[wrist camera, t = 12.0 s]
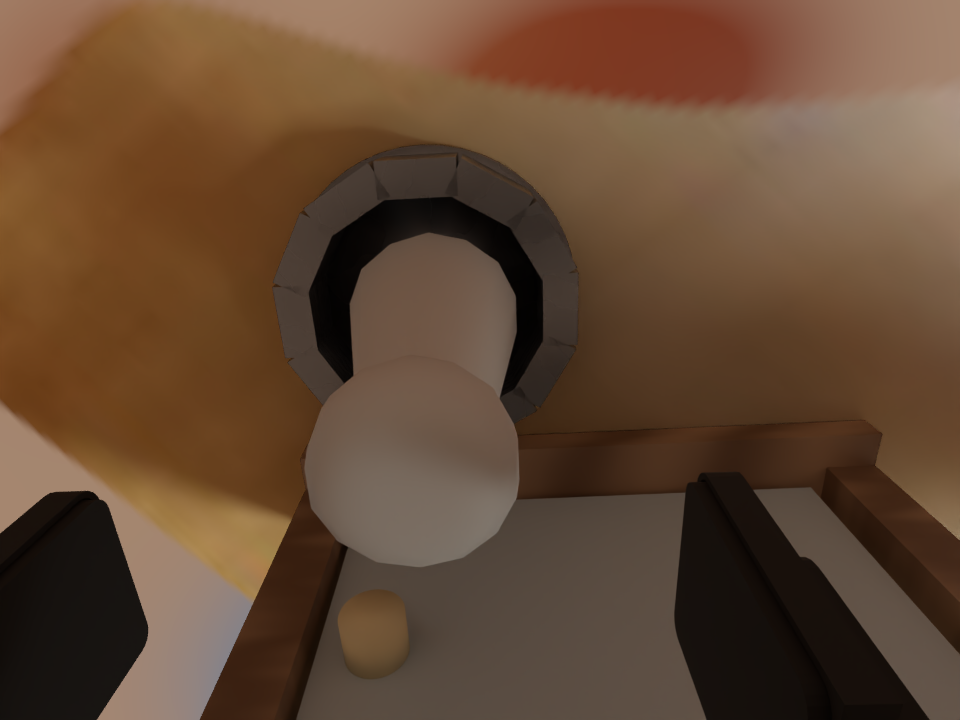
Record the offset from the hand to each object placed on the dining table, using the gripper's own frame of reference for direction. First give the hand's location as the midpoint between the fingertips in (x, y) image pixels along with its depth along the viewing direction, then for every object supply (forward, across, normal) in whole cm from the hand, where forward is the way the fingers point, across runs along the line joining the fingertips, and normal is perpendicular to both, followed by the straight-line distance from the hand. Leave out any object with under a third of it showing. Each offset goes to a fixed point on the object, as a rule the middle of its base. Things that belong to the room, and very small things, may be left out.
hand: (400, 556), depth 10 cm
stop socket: (+15, +1, 0) cm, 15 cm away
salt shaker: (+15, +1, 0) cm, 15 cm away
